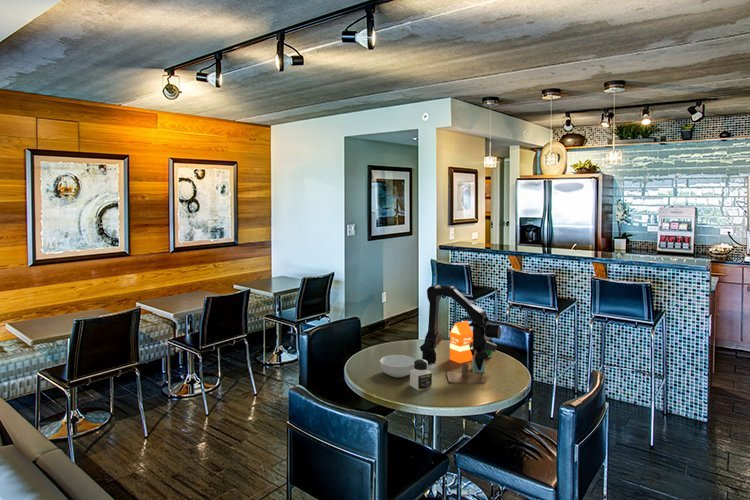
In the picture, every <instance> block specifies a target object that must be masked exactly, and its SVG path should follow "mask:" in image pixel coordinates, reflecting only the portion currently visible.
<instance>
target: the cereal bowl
mask: <svg viewBox="0 0 750 500" xmlns="http://www.w3.org/2000/svg"><path fill="white" fill-rule="evenodd" d="M415 360H416V359H415V358H413V357H412V356H410V355H404V354H391V355H390V354H389V355H386V356H383V357H382V358H381V359H379V366H380V370H381V371H382V372H383V373H385V374H386V375H388V376H389V377H393V378H396V379H397V378H399V379H400V378H404V377H406V376H410V370H414V361H415Z"/></svg>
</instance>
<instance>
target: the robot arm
mask: <svg viewBox="0 0 750 500" xmlns="http://www.w3.org/2000/svg"><path fill="white" fill-rule="evenodd" d="M426 296H427V300H428V303H429V308H428V309H429V310H428V327H427V329H428V330H427V332H426V335H425V337H424V343H423V344H421V345H420V346H419V349H420V352H421V356H422V357H421V359H423V360H426V361H427V362H428V364H436V361H437V352H436V350H435V349H437V346H439V345H440V343H441V342H442V339H441V338H442V333H439V330H438V327H439V325H438V322H439V309H440V308H439V307H440V306H439V305H440V301H441V298H442V296H449V297H450V298H451V299H453V301H455V302H456V303H457V304H458V305H459V306H460V307H461V308H463V309H464V310H465V312H466V313H467V315H468V317H469V318H470V320H471V322H470V323H469V325H468V326H470V327H471V328H472V332H473V337H472V340H473V342H470V343H469V348H470V351H471V353H472V355H474V359H475V362H476V365H477V367H478V370H481V367H482V364H483V361H484V360H485V361H486V360H488V359H489V358H488V356H489V355H488V353H487V352H486V351H483V350H486V349H488V350H491V351H492V353H495V352H496V350H497V348H498V346H497V344H496V343H495V342H494V340H493V339H497V340H500V339H501V337H502V328H501V324H499V323H492V322H491V321H490V319H489V317H488V316H487V312H486V310H484V309H483V308H481V307H479V306H478V305H475V304H474V303H472V302H471V301H470V300H469V299H468V298H467V297H466V296H465V295H463V294H462V293H461V292H460V291H459V290H458V289H457V288H456V287H455V286H454V285H440V284H434V285H430V286H429V287H427V289H426ZM485 336H487V337H488V338H492V339H488V340H486V339H485ZM471 347H472V349H471Z"/></svg>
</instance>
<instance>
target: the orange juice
mask: <svg viewBox="0 0 750 500" xmlns="http://www.w3.org/2000/svg"><path fill="white" fill-rule="evenodd" d="M469 324H470V323H469V321H468V320H464V321H460V322H455V324H454V325H453V327H452V328H451V330H450V332H449V360H451V361H452V362H456V363H458V364H462V363H468V362H470V361H472V353H471V351H470V348H469V343H470V342H473V340H472V337H473V329H472V327H471V326H468V325H469ZM471 349H472V347H471Z"/></svg>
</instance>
